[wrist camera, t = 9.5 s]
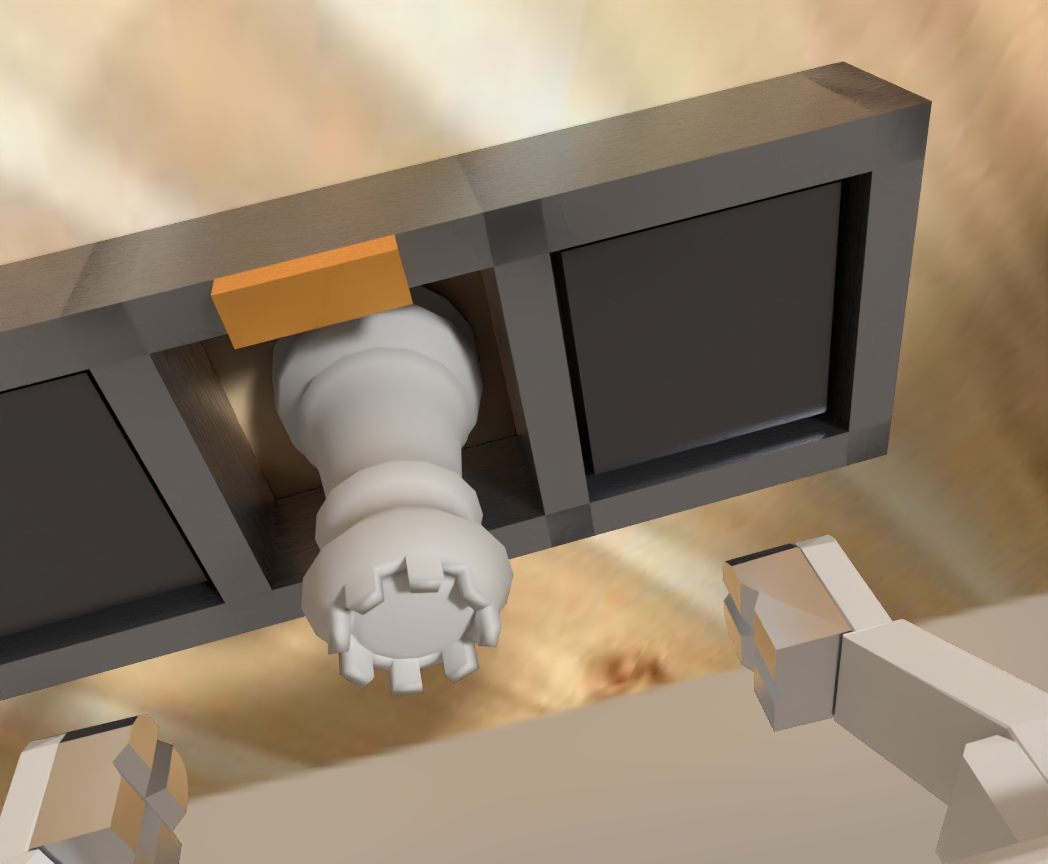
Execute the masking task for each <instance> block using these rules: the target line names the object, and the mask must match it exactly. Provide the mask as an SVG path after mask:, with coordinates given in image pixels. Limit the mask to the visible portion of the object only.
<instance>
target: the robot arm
mask: <svg viewBox="0 0 1048 864" xmlns="http://www.w3.org/2000/svg"><path fill="white" fill-rule="evenodd" d="M723 581H724V583H725V585H726V587H727V589H728V591H729V594H728V596H727V597H726V598H725V600H724V611H725V619H726V624H727V628H728V632H729V636H730V639H731V641H732V644H733V646H734V649H735V651H736V654H737V656H738V658H739V660H740V662H741V664H742V665H743V666H745V667H747V668H748V669H750V670H752V671H753V672H754V691H755V693H756V695H757V698H758V699H759V702H760V704H761V706H762V708H763V710H764V712H765V714H766V716H767V718H768V720H769V722H770V724H771V726H772V728H773V730H774V732H775V731H779V730H783V729H787V728H791V727H796V726H800V725H804V724H808V723H811V722H816V721H820V720H824V719H829V718H833V717H834V721H836V722H837V723H838V724H840V725H841V726H842V727H844V728H845V729H846V730H848V731H849V732H850V733H852V734H853V735H854V736H856V737H857V738H858V739H860V740H861V741H862V742H864V743H865V744H867V745H868V746H869V747H871V748H872V749H873V750H874V751H876V752H877V753H879V754H880V755H881V756H883V757H884V758H885V759H887V760H888V761H889V762H891V763H892V764H893V765H895V766H896V767H897V768H899V769H900V770H901V771H903V772H904V773H905V774H907V775H908V776H909V777H911V778H912V779H913V780H915V781H916V782H918V783H919V784H920V785H922V786H923V787H924V788H926V789H927V790H929V791H930V792H931V793H932V794H934V795H935V796H936V797H938V798H939V799H940V800H942V801H943V802H944V803H946V804H947V805H948V809H947V813H946V816H945V820H944V823H943V826H942V830H941V833H940V837H939V840H938V844H937V847H936V851H935V852H936V854H937V855H938V857H939V859H940V861H941V863H942V864H1048V693H1047V692H1045V691H1043V690H1041V689H1039V688H1037V687H1035V686H1033V685H1031V684H1029V683H1027V682H1025V681H1023V680H1021V679H1019V678H1017V677H1015V676H1014V675H1012V674H1010V673H1007V672H1006V671H1004V670H1002V669H1000V668H998V667H996V666H994V665H992V664H990V663H988V662H986V661H984V660H982V659H980V658H978V657H977V656H974V655H973V654H971V653H969V652H967V651H965V650H963V649H961V648H959V647H957V646H955V645H953V644H951V643H949V642H947V641H945V640H943V639H941V638H940V637H938V636H935V635H933V634H932V633H930V632H927V631H926V630H924V629H922V628H920V627H918V626H916V625H914V624H912V623H910V622H908V621H906V620H904V619H899V620H895V621H892V620H891V618H890V617H889V615H888V614H887V613H886V611H885V610H884V608H883V607H882V605H881V604H880V603H879V601H878V600H877V598H876V597H875V595H874V594H873V593H872V591H871V590H870V588H869V587H868V585H867V584H866V583H865V581H864V580H863V578H862V577H861V575H860V574H859V573H858V571H857V570H856V568H855V567H854V565H853V564H852V563H851V561H850V560H849V558H848V557H847V555H846V554H845V552H844V551H843V550H842V548H841V547H840V545H839V544H838V542H837V541H836V540H835V538H833V537H831V536H830V535H828V534H827V535H823V536H820V537H816V538H812V539H808V540H804V541H800V542H796V543H793V544H786V545H783V546H779V547H775V548H772V549H768V550H765V551H761V552H757V553H754V554H750V555H746V556H743V557H739V558H735V559H732V560H728V561H725V563H724V565H723ZM158 731H159V727H158V725H157V724H156V723H155V722H154V721H153V720H152V719H151V717H150V716H149V715H148V714H145V715H139V716H135V717H131V718H126V719H122V720H118V721H114V722H109V723H105V724H101V725H96V726H92V727H88V728H84V729H79V730H75V731H71V732H67V733H63V734H59V735H55V736H51V737H47V738H43V739H39V740H35V741H31V742H30V743H29V744H28V745H27V747H26V748H25V749H24V750H23V751H22V753H21V755H20V757H19V760H18V763H17V766H16V769H15V772H14V775H13V778H12V782H11V785H10V788H9V791H8V794H7V797H6V800H5V803H4V806H3V809H2V812H1V815H0V864H179V859H180V853H181V845H182V844H181V843H180V841H179V840H178V839H177V837H176V836H175V834H174V833H173V830H174V829H175V827H176V826H177V825H178V823H179V822H180V820H181V819H182V818H183V816H184V815H185V813H186V809H187V802H188V794H189V790H188V780H187V771H186V768H185V765H184V763H183V760H182V757H181V755H180V754H179V753H178V751H177V750H176V749H175V747H174V746H173V745H170V744H168V743H165V742H162V741H159V740H157V737H158Z"/></svg>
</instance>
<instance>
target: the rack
mask: <svg viewBox="0 0 1048 864" xmlns="http://www.w3.org/2000/svg"><path fill="white" fill-rule="evenodd" d="M931 104H932V101H930V100H928V99H926V98H923V97H921V96H919V95H917V94H914V93H912V92H910V91H908V90H906V89H903V88H901V87H899V86H897V85H894V84H892V83H890V82H888V81H886V80H883V79H881V78H879V77H877V76H874V75H872V74H870V73H868V72H865V71H863V70H861V69H859V68H857V67H854V66H852V65H850V64H848V63H845V62H839V63H835V64H831V65H827V66H823V67H818V68H814V69H810V70H806V71H802V72H798V73H794V74H790V75H785V76H781V77H777V78H773V79H769V80H765V81H761V82H757V83H752V84H748V85H744V86H740V87H736V88H732V89H728V90H724V91H719V92H715V93H711V94H707V95H703V96H699V97H695V98H691V99H686V100H682V101H678V102H674V103H670V104H666V105H662V106H658V107H654V108H649V109H645V110H641V111H637V112H633V113H629V114H625V115H621V116H616V117H612V118H608V119H604V120H600V121H596V122H592V123H588V124H583V125H579V126H575V127H571V128H567V129H563V130H559V131H555V132H550V133H546V134H542V135H538V136H534V137H530V138H526V139H522V140H517V141H513V142H509V143H505V144H501V145H497V146H493V147H489V148H484V149H480V150H476V151H472V152H468V153H464V154H460V155H456V156H452V157H447V158H443V159H439V160H435V161H431V162H427V163H423V164H419V165H414V166H410V167H406V168H402V169H398V170H394V171H390V172H386V173H381V174H377V175H373V176H369V177H365V178H361V179H357V180H353V181H348V182H344V183H340V184H336V185H332V186H328V187H324V188H320V189H315V190H311V191H307V192H303V193H299V194H295V195H291V196H287V197H282V198H278V199H274V200H270V201H266V202H262V203H258V204H254V205H250V206H245V207H241V208H237V209H233V210H229V211H225V212H221V213H217V214H212V215H208V216H204V217H200V218H196V219H192V220H188V221H184V222H179V223H175V224H171V225H167V226H163V227H159V228H155V229H151V230H146V231H142V232H138V233H134V234H130V235H126V236H122V237H118V238H113V239H109V240H105V241H101V242H97V243H93V244H89V245H85V246H81V247H76V248H72V249H68V250H64V251H60V252H56V253H52V254H48V255H43V256H39V257H35V258H31V259H27V260H23V261H19V262H15V263H10V264H6V265H2V266H0V701H1V700H4V699H8V698H12V697H15V696H19V695H22V694H26V693H30V692H33V691H37V690H40V689H44V688H48V687H51V686H55V685H58V684H62V683H66V682H69V681H73V680H76V679H80V678H84V677H87V676H91V675H94V674H98V673H102V672H105V671H109V670H112V669H116V668H120V667H123V666H127V665H130V664H134V663H138V662H141V661H145V660H148V659H152V658H156V657H159V656H163V655H166V654H170V653H174V652H177V651H181V650H184V649H188V648H192V647H195V646H199V645H202V644H206V643H210V642H213V641H217V640H220V639H224V638H228V637H231V636H235V635H238V634H242V633H246V632H249V631H253V630H256V629H260V628H264V627H267V626H271V625H274V624H278V623H282V622H285V621H289V620H292V619H296V618H300V617H303V616H305V614H304V613H303V611H302V609H301V605H302V588H303V577H304V576H305V574H306V573H307V571H308V570H309V568H310V567H311V565H312V563H313V562H314V560H315V559H316V557H317V556H318V554H319V553H320V551H321V550H320V548H319V546H318V544H317V542H316V540H315V532H316V517H317V513H318V511H319V510H320V508H321V506H322V505H323V503H324V502H325V500H326V496H325V493H324V489H323V487H321V488H317V489H314V490H310V491H306V492H302V493H299V494H295V495H291V496H287V497H284V498H280V499H276V500H275V498H274V496H273V494H272V492H271V489H270V487H269V485H268V483H267V481H266V479H265V477H264V475H263V473H262V470H261V468H260V466H259V464H258V462H257V460H256V458H255V456H254V453H253V451H252V449H251V447H250V445H249V443H248V441H247V439H246V436H245V434H244V432H243V430H242V428H241V426H240V424H239V422H238V420H237V417H236V415H235V413H234V411H233V409H232V407H231V405H230V403H229V400H228V398H227V396H226V394H225V392H224V390H223V388H222V386H221V383H220V381H219V379H218V377H217V375H216V373H215V371H214V369H213V367H212V364H211V362H210V360H209V358H208V356H207V354H206V352H205V350H204V347H203V345H202V343H201V341H202V340H206V339H210V338H214V337H218V336H222V335H226V334H228V335H229V338H230V340H231V342H232V344H233V347H234V349H238V348H242V347H246V346H250V345H254V344H258V343H261V342H265V341H269V340H273V339H277V338H281V337H285V336H289V335H293V334H297V333H301V332H305V331H309V330H313V329H317V328H320V327H324V326H328V325H332V324H336V323H340V322H344V321H348V320H352V319H356V318H360V317H364V316H368V315H372V314H376V313H380V312H383V311H387V310H391V309H395V308H399V307H403V306H407V305H411V304H413V301H412V297H411V293H410V289H409V288H412V287H416V286H419V285H423V284H427V283H431V282H435V281H439V280H443V279H447V278H451V277H455V276H459V275H463V274H467V273H471V272H475V271H479V270H481V272H482V277H483V281H484V286H485V290H486V295H487V300H488V304H489V309H490V313H491V318H492V322H493V327H494V332H495V336H496V341H497V345H498V350H499V354H500V359H501V364H502V368H503V373H504V377H505V382H506V387H507V391H508V396H509V400H510V405H511V409H512V414H513V419H514V423H515V428H516V432H517V435H515V436H512V437H508V438H504V439H501V440H497V441H493V442H489V443H486V444H482V445H478V446H474V447H471V448H467V449H463V450H461V462H462V479H463V480H464V481H465V482H466V483H467V484H468V485H469V486H470V487H471V488H472V489H474V490H475V491H476V495H477V498H478V501H479V504H480V507H481V510H482V513H483V517H482V522H481V525H482V526H483V527H484V528H485V529H486V530H487V531H488V532H489V533H490V534H491V535H492V536H494V537H495V538H496V539H497V540H498V541H499V542H500V543H501V544H502V545H503V546H504V547H505V549H506V552H507V556H508V559H512V558H516V557H519V556H523V555H526V554H530V553H534V552H537V551H541V550H544V549H548V548H552V547H555V546H559V545H562V544H566V543H570V542H573V541H577V540H580V539H584V538H588V537H591V536H595V535H598V534H602V533H606V532H609V531H613V530H616V529H620V528H624V527H627V526H631V525H634V524H638V523H642V522H645V521H649V520H652V519H656V518H660V517H663V516H667V515H670V514H674V513H678V512H681V511H685V510H688V509H692V508H696V507H699V506H703V505H706V504H710V503H714V502H717V501H721V500H724V499H728V498H732V497H735V496H739V495H742V494H746V493H750V492H753V491H757V490H760V489H764V488H768V487H771V486H775V485H778V484H782V483H786V482H789V481H793V480H796V479H800V478H804V477H807V476H811V475H814V474H818V473H822V472H825V471H829V470H832V469H836V468H840V467H843V466H847V465H850V464H854V463H858V462H861V461H865V460H868V459H872V458H876V457H879V456H883V455H886V454H887V448H888V440H889V432H890V425H891V417H892V409H893V401H894V393H895V385H896V378H897V370H898V362H899V354H900V346H901V339H902V331H903V323H904V315H905V307H906V299H907V292H908V284H909V276H910V268H911V260H912V252H913V245H914V237H915V229H916V221H917V213H918V206H919V198H920V190H921V182H922V174H923V166H924V159H925V151H926V143H927V135H928V127H929V119H930V112H931Z"/></svg>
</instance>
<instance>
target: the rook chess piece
mask: <svg viewBox="0 0 1048 864" xmlns="http://www.w3.org/2000/svg"><path fill="white" fill-rule="evenodd" d="M409 289H410V293H411V297H412V301H413V304H411V305H407V306H403V307H399V308H395V309H391V310H387V311H383V312H380V313H376V314H372V315H368V316H364V317H360V318H356V319H352V320H348V321H344V322H340V323H336V324H332V325H328V326H324V327H320V328H317V329H313V330H309V331H305V332H301V333H297V334H293V335H289V336H285V337H281V338H278V340H277V342H276V344H275V346H274V348H273V368H272V385H273V387H274V389H275V409H276V411H277V413H278V415H279V417H280V419H281V421H282V423H283V425H284V427H285V429H286V431H287V434H288V436H289V438H290V440H291V442H292V444H293V446H294V447H295V448H296V449H297V450H298V451H299V452H301V453H302V454H303V455H304V456H306V457H307V459H308V461H309V462H310V463H311V464H312V465H313V466H315V467H316V468H317V469H318V470H319V473H320V477H321V481H322V485H323V489H324V493H325V496H326V500H325V502H324V503H323V505H322V506H321V508H320V510H319V511H318V513H317V517H316V532H315V540H316V542H317V544H318V546H319V548H320V550H321V551H320V553H319V554H318V556H317V557H316V559H315V560H314V562H313V563H312V565H311V567H310V568H309V570H308V571H307V573H306V574H305V576H304V577H303V588H302V605H301V609H302V611H303V613H304V614H305V616H306V618H307V620H308V621H309V623H310V625H311V627H312V629H313V630H314V632H315V634H316V635H317V636H318V637H320V638H321V639H323V640H324V641H326V642H327V643H328V653H329V654H334V653H339V666H340V675H341V676H343V677H344V678H346V679H347V680H349V681H351V682H352V683H354V684H355V685H357V686H358V687H360V688H361V689H362V688H364V687H365V686H366V685H367V684H368V683H369V682H370V681H371V680H372V679H373V678H374V670H373V668H377V669H381V670H385V671H389V679H390V689H391V695H404V694H422V693H423V688H422V681H421V673H420V670H421V669H424V668H427V667H431V666H434V665H437V664H440V663H443V662H444V668H445V674H446V675H447V677H448V678H449V679H450V680H451V681H452V682H453V684H454V683H456V682H458V681H459V680H461V679H462V678H464V677H466V676H467V675H469V674H470V673H472V672H473V671H475V670H477V669H478V668H479V665H478V660H477V656H476V651H475V646H474V645H475V643H476V642H477V643H478V646H486V647H496V645H497V641H498V637H499V633H500V628H501V622H500V618H499V612H500V611H501V610H502V608H503V607H504V606H505V604H506V603H507V599H508V595H509V590H510V586H511V582H512V578H513V572H512V569H511V565H510V562H509V559H508V556H507V552H506V549H505V547H504V546H503V545H502V544H501V543H500V542H499V541H498V540H497V539H496V538H495V537H494V536H492V535H491V534H490V533H489V532H488V531H487V530H486V529H485V528H484V527H483V526H482V525H481V522H482V517H483V513H482V510H481V507H480V504H479V501H478V498H477V495H476V491H475V490H474V489H472V488H471V487H470V486H469V485H468V484H467V483H466V482H465V481H464V480H463V479H462V462H461V449H462V447H463V446H464V444H465V443H466V441H467V439H468V435H469V433H470V432H471V430H472V429H473V427H474V426H475V425H476V422H477V416H478V411H479V406H480V400H481V395H482V389H483V384H484V380H483V376H482V373H481V369H480V366H479V364H480V357H479V354H478V350H477V347H476V343H475V340H474V336H473V332H472V329H471V326H470V325H469V324H468V323H467V322H466V320H465V319H464V318H463V317H462V316H461V315H460V314H459V312H458V311H457V310H456V309H455V308H454V307H453V306H452V304H451V303H450V302H449V301H448V300H447V299H446V298H444V297H442V296H440V295H438V294H436V293H434V292H432V291H430V290H428V289H426V288H424V287H421V286H416V287H412V288H409Z"/></svg>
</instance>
